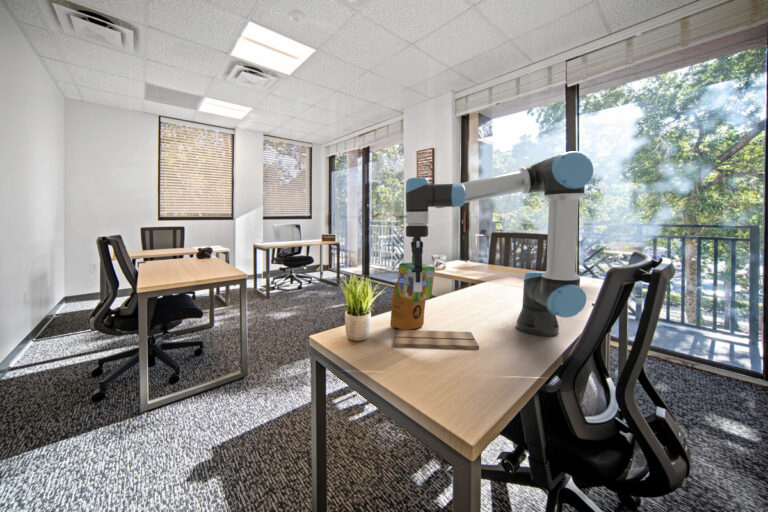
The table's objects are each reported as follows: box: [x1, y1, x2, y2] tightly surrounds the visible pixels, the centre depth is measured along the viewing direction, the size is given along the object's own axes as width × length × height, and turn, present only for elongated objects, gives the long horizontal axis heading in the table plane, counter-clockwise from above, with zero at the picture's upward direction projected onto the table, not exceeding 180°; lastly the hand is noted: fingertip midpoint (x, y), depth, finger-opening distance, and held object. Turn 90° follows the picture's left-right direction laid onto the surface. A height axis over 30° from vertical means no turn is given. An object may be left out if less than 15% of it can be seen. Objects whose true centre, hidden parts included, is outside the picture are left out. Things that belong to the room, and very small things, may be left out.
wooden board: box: [393, 337, 480, 351], centre depth 112 cm, size 28×12×2 cm, turn 87°
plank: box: [394, 329, 476, 340], centre depth 114 cm, size 28×6×1 cm, turn 87°
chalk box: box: [397, 254, 436, 302], centre depth 109 cm, size 9×9×15 cm
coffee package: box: [390, 280, 426, 330], centre depth 123 cm, size 10×12×22 cm
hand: (416, 287), depth 110 cm, fingers closed on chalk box, 12 cm apart
